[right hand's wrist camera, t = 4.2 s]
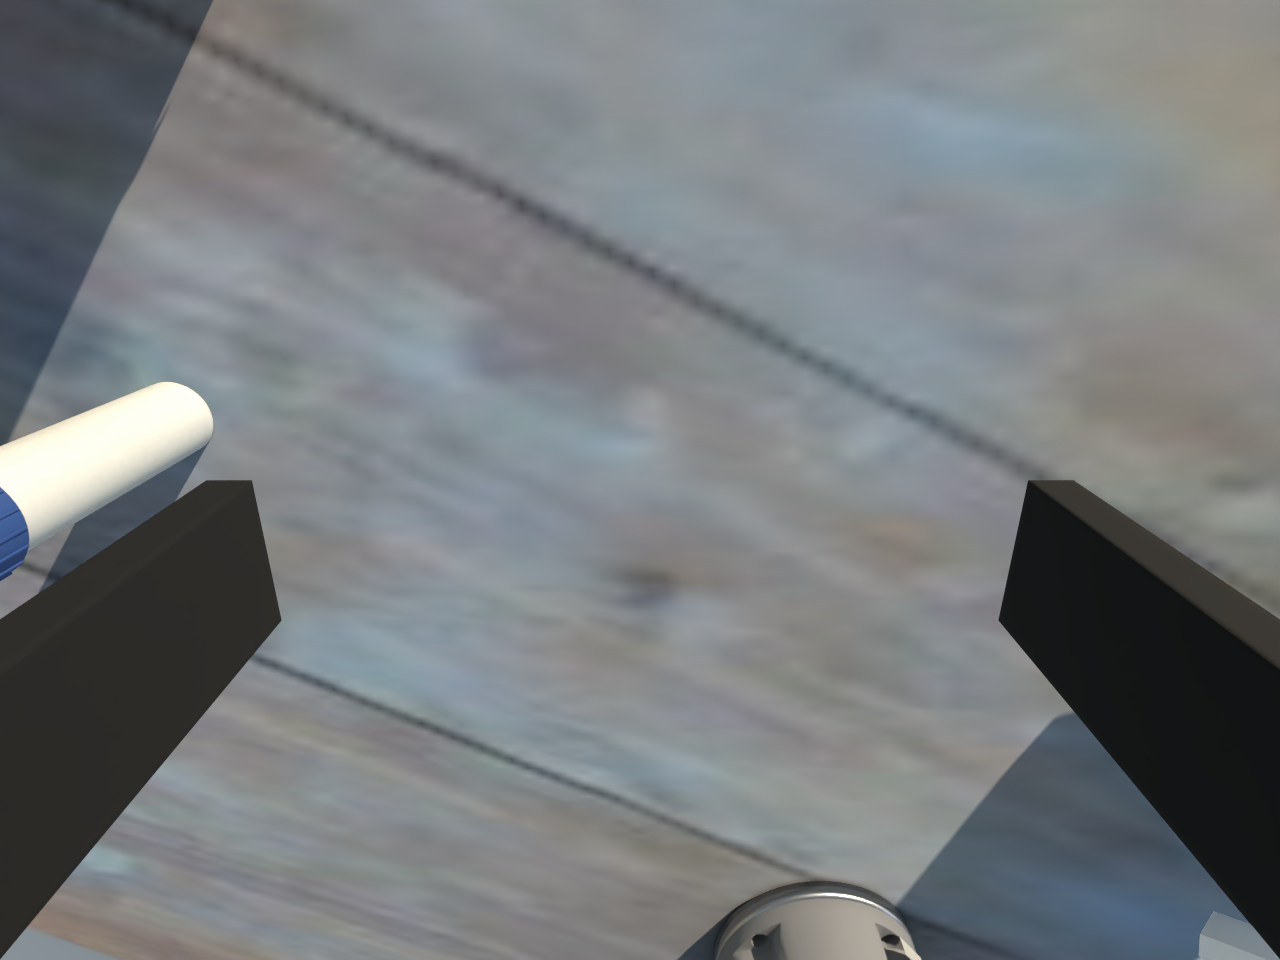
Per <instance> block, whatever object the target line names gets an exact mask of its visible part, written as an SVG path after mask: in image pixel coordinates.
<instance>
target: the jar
mask: <svg viewBox="0 0 1280 960" xmlns="http://www.w3.org/2000/svg"><path fill="white" fill-rule="evenodd" d="M212 432H213V418H212V414H211V412H210V410H209V408H208V406H207V404H206V403H205V401H204V400H203V399H202V398H201V397H200V396H199V395H198V394H197V393H195V392H194V391H193V390H191V389H189V388H188V387H186V386H183V385H181V384H177V383H172V382H161V383H157V384H153V385H151V386H148V387H146V388H144V389H141V390H139V391H136V392H134V393H131V394H129V395H126V396H124V397H121V398H119V399H116V400H114V401H111V402H109V403H106V404H104V405H101V406H99V407H96V408H94V409H91V410H89V411H86V412H84V413H81V414H79V415H77V416H74V417H72V418H69V419H67V420H64V421H62V422H59V423H57V424H54V425H52V426H49V427H47V428H44V429H42V430H39V431H37V432H34V433H32V434H29V435H27V436H24V437H22V438H19V439H17V440H14V441H12V442H10V443H7V444H5V445H2V446H0V487H1V488H2V489H3V490H4V491H5V492H6V493H7V494H8V495H9V496H10V497H11V498H12V499H13V500H14V501H15V503H16V504H17V506H18V507H19V509H20V510H21V512H22V514H23V516H24V518H25V521H26V523H27V527H28V531H29V548H28V551H29V550H31V549H32V548H34V547H36V546H37V545H39V544H41V543H42V542H44V541H46V540H48V539H49V538H51V537H53V536H54V535H56V534H58V533H59V532H61V531H63V530H64V529H66V528H68V527H69V526H71V525H73V524H75V523H76V522H78V521H80V520H81V519H83V518H85V517H86V516H88V515H90V514H91V513H93V512H95V511H96V510H98V509H100V508H102V507H103V506H105V505H107V504H108V503H110V502H112V501H113V500H115V499H117V498H118V497H120V496H122V495H123V494H125V493H127V492H129V491H130V490H132V489H134V488H135V487H137V486H139V485H140V484H142V483H144V482H145V481H147V480H149V479H150V478H152V477H154V476H156V475H157V474H159V473H161V472H162V471H164V470H166V469H167V468H169V467H171V466H172V465H174V464H176V463H177V462H179V461H181V460H183V459H184V458H186V457H188V456H189V455H191V454H193V453H194V452H196V451H198V450H199V449H201V448H202V447H204V446H205V445H206V444H207V443H208V441H209V440H210V438H211V435H212Z"/></svg>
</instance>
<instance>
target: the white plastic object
mask: <svg viewBox="0 0 1280 960" xmlns="http://www.w3.org/2000/svg"><path fill="white" fill-rule="evenodd" d="M1199 957H1202V958H1204V959H1207V960H1280V959H1279V958H1278V956H1277V955H1276V954H1275V953H1274V952H1273V950H1272V949H1271V948H1270V947H1269V946H1268V944H1267V943H1266V942H1265V941H1264V940H1263V938H1262V937H1261V936H1260V935H1259V933H1258V932H1257V931H1256V930H1255V929H1254V927H1253V926H1252V925H1251V924H1249V923H1246V922H1243V921H1240V920H1237V919H1235V918H1232V917H1229V916H1226V915H1223V914H1220V913H1218V912H1215V911H1213V913H1212V914H1211V916H1210V918H1209V919H1208V921H1207V923H1206V924H1205V926H1204V928H1203V929H1202V931H1201V933H1200V940H1199Z"/></svg>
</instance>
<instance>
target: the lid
mask: <svg viewBox="0 0 1280 960" xmlns="http://www.w3.org/2000/svg"><path fill="white" fill-rule="evenodd" d="M28 548H29V531H28V527H27V523H26V521H25V518H24V516H23V514H22V512H21V510H20V509H19V507H18V506H17V504H16V503H15V501H14V500H13V499H12V498H11V497H10V496H9V495H8V494H7V493H6V492H5V491H4V490H3V489H2V488H1V487H0V581H1V580H3V579H5V578H6V577H8V576H9V575H11V574H12V571H13V570H15V569H16V568H17V567H18V566H19V565H21V564H23V563H24V561H23V560H24V558H25V556H26V554H27V551H28Z"/></svg>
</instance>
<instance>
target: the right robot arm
mask: <svg viewBox="0 0 1280 960" xmlns="http://www.w3.org/2000/svg"><path fill="white" fill-rule="evenodd" d="M280 621H281V616H280V611H279V607H278V602H277V597H276V592H275V588H274V583H273V578H272V574H271V569H270V564H269V559H268V555H267V550H266V545H265V541H264V536H263V531H262V526H261V522H260V517H259V512H258V508H257V503H256V498H255V493H254V489H253V484H252V480H206V481H205V482H203V483H202V484H200V485H199V486H198V487H196V488H195V489H193V490H192V491H190V492H189V493H187V494H186V495H184V496H183V497H181V498H180V499H178V500H177V501H175V502H174V503H172V504H171V505H169V506H168V507H166V508H165V509H163V510H162V511H160V512H159V513H157V514H156V515H154V516H153V517H152V518H150V519H149V520H147V521H146V522H144V523H143V524H141V525H140V526H138V527H137V528H135V529H134V530H132V531H131V532H129V533H128V534H126V535H125V536H123V537H122V538H120V539H119V540H117V541H116V542H114V543H113V544H111V545H110V546H108V547H107V548H105V549H104V550H103V551H101V552H100V553H98V554H97V555H95V556H94V557H92V558H91V559H89V560H88V561H86V562H85V563H83V564H82V565H80V566H79V567H77V568H76V569H74V570H73V571H71V572H70V573H68V574H67V575H65V576H64V577H62V578H61V579H59V580H58V581H56V582H55V583H54V584H52V585H51V586H49V587H48V588H46V589H45V590H43V591H42V592H40V593H39V594H37V595H36V596H34V597H33V598H31V599H30V600H28V601H27V602H25V603H24V604H22V605H21V606H19V607H18V608H16V609H15V610H13V611H12V612H10V613H9V614H8V615H6V616H5V617H3V618H2V619H0V959H1V958H2V956H3V955H4V954H5V953H6V952H7V950H8V949H9V948H10V947H11V946H12V944H13V943H14V942H15V941H16V940H17V938H18V937H19V936H20V935H21V933H22V932H23V931H24V930H25V929H26V927H27V926H28V925H29V924H30V923H31V921H32V920H33V919H34V918H35V917H36V915H37V914H38V913H39V912H40V911H41V909H42V908H43V907H44V906H45V905H46V903H47V902H48V901H49V900H50V899H51V897H52V896H53V895H54V894H55V893H56V891H57V890H58V889H59V888H60V887H61V885H62V884H63V883H64V882H65V880H66V879H67V878H68V877H69V876H70V874H71V873H72V872H73V871H74V870H75V868H76V867H77V866H78V865H79V864H80V862H81V861H82V860H83V859H84V858H85V856H86V855H87V854H88V853H89V852H90V850H91V849H92V848H93V847H94V846H95V844H96V843H97V842H98V841H99V840H100V838H101V837H102V836H103V835H104V833H105V832H106V831H107V830H108V829H109V827H110V826H111V825H112V824H113V823H114V821H115V820H116V819H117V818H118V817H119V815H120V814H121V813H122V812H123V811H124V809H125V808H126V807H127V806H128V805H129V803H130V802H131V801H132V800H133V799H134V797H135V796H136V795H137V794H138V793H139V791H140V790H141V789H142V788H143V787H144V785H145V784H146V783H147V782H148V780H149V779H150V778H151V777H152V776H153V774H154V773H155V772H156V771H157V770H158V768H159V767H160V766H161V765H162V764H163V762H164V761H165V760H166V759H167V758H168V756H169V755H170V754H171V753H172V752H173V750H174V749H175V748H176V747H177V746H178V744H179V743H180V742H181V741H182V740H183V738H184V737H185V736H186V735H187V734H188V732H189V731H190V730H191V729H192V727H193V726H194V725H195V724H196V723H197V721H198V720H199V719H200V718H201V717H202V715H203V714H204V713H205V712H206V711H207V709H208V708H209V707H210V706H211V705H212V703H213V702H214V701H215V700H216V699H217V697H218V696H219V695H220V694H221V693H222V691H223V690H224V689H225V688H226V687H227V685H228V684H229V683H230V682H231V681H232V679H233V678H234V677H235V676H236V674H237V673H238V672H239V671H240V670H241V668H242V667H243V666H244V665H245V664H246V662H247V661H248V660H249V659H250V658H251V656H252V655H253V654H254V653H255V652H256V650H257V649H258V648H259V647H260V646H261V644H262V643H263V642H264V641H265V640H266V638H267V637H268V636H269V635H270V634H271V632H272V631H273V630H274V629H275V628H276V626H277V625H278V624H279V623H280ZM999 621H1000V623H1001V624H1002V625H1003V626H1004V628H1005V629H1006V630H1007V631H1008V632H1009V634H1010V635H1011V636H1012V637H1013V638H1014V640H1015V641H1016V642H1017V643H1018V644H1019V646H1020V647H1021V648H1022V649H1023V650H1024V652H1025V653H1026V654H1027V655H1028V656H1029V658H1030V659H1031V660H1032V661H1033V662H1034V664H1035V665H1036V666H1037V667H1038V668H1039V670H1040V671H1041V672H1042V673H1043V674H1044V676H1045V677H1046V678H1047V679H1048V681H1049V682H1050V683H1051V684H1052V685H1053V687H1054V688H1055V689H1056V690H1057V691H1058V693H1059V694H1060V695H1061V696H1062V697H1063V699H1064V700H1065V701H1066V702H1067V703H1068V705H1069V706H1070V707H1071V708H1072V709H1073V711H1074V712H1075V713H1076V714H1077V715H1078V717H1079V718H1080V719H1081V720H1082V721H1083V723H1084V724H1085V725H1086V726H1087V727H1088V729H1089V730H1090V731H1091V732H1092V734H1093V735H1094V736H1095V737H1096V738H1097V740H1098V741H1099V742H1100V743H1101V744H1102V746H1103V747H1104V748H1105V749H1106V750H1107V752H1108V753H1109V754H1110V755H1111V756H1112V758H1113V759H1114V760H1115V761H1116V762H1117V764H1118V765H1119V766H1120V767H1121V768H1122V770H1123V771H1124V772H1125V773H1126V774H1127V776H1128V777H1129V778H1130V779H1131V780H1132V782H1133V783H1134V784H1135V785H1136V787H1137V788H1138V789H1139V790H1140V791H1141V793H1142V794H1143V795H1144V796H1145V797H1146V799H1147V800H1148V801H1149V802H1150V803H1151V805H1152V806H1153V807H1154V808H1155V809H1156V811H1157V812H1158V813H1159V814H1160V815H1161V817H1162V818H1163V819H1164V820H1165V821H1166V823H1167V824H1168V825H1169V826H1170V827H1171V829H1172V830H1173V831H1174V832H1175V833H1176V835H1177V836H1178V837H1179V838H1180V840H1181V841H1182V842H1183V843H1184V844H1185V846H1186V847H1187V848H1188V849H1189V850H1190V852H1191V853H1192V854H1193V855H1194V856H1195V858H1196V859H1197V860H1198V861H1199V862H1200V864H1201V865H1202V866H1203V867H1204V868H1205V870H1206V871H1207V872H1208V873H1209V874H1210V876H1211V877H1212V878H1213V879H1214V880H1215V882H1216V883H1217V884H1218V885H1219V887H1220V888H1221V889H1222V890H1223V891H1224V893H1225V894H1226V895H1227V896H1228V897H1229V899H1230V900H1231V901H1232V902H1233V903H1234V905H1235V906H1236V907H1237V908H1238V909H1239V911H1240V912H1241V913H1242V914H1243V915H1244V917H1245V918H1246V919H1247V920H1248V921H1249V923H1250V924H1251V925H1252V926H1253V927H1254V929H1255V930H1256V931H1257V932H1258V933H1259V935H1260V936H1261V937H1262V938H1263V940H1264V941H1265V942H1266V943H1267V944H1268V946H1269V947H1270V948H1271V949H1272V950H1273V952H1274V953H1275V954H1276V955H1277V956H1278V958H1279V959H1280V619H1278V618H1277V617H1275V616H1274V615H1272V614H1271V613H1270V612H1268V611H1267V610H1265V609H1264V608H1262V607H1261V606H1259V605H1258V604H1256V603H1255V602H1253V601H1252V600H1250V599H1249V598H1247V597H1246V596H1244V595H1243V594H1241V593H1240V592H1238V591H1237V590H1235V589H1234V588H1232V587H1231V586H1229V585H1228V584H1226V583H1225V582H1224V581H1222V580H1221V579H1219V578H1218V577H1216V576H1215V575H1213V574H1212V573H1210V572H1209V571H1207V570H1206V569H1204V568H1203V567H1201V566H1200V565H1198V564H1197V563H1195V562H1194V561H1192V560H1191V559H1189V558H1188V557H1186V556H1185V555H1183V554H1182V553H1180V552H1179V551H1177V550H1176V549H1175V548H1173V547H1172V546H1170V545H1169V544H1167V543H1166V542H1164V541H1163V540H1161V539H1160V538H1158V537H1157V536H1155V535H1154V534H1152V533H1151V532H1149V531H1148V530H1146V529H1145V528H1143V527H1142V526H1140V525H1139V524H1137V523H1136V522H1134V521H1133V520H1131V519H1130V518H1128V517H1127V516H1126V515H1124V514H1123V513H1121V512H1120V511H1118V510H1117V509H1115V508H1114V507H1112V506H1111V505H1109V504H1108V503H1106V502H1105V501H1103V500H1102V499H1100V498H1099V497H1097V496H1096V495H1094V494H1093V493H1091V492H1090V491H1088V490H1087V489H1085V488H1084V487H1082V486H1081V485H1080V484H1078V483H1077V482H1075V481H1074V480H1028V484H1027V489H1026V493H1025V498H1024V503H1023V508H1022V512H1021V517H1020V522H1019V526H1018V531H1017V536H1016V541H1015V545H1014V550H1013V555H1012V559H1011V564H1010V569H1009V574H1008V578H1007V583H1006V588H1005V592H1004V597H1003V602H1002V606H1001V611H1000V616H999ZM714 960H921V958H920V956H919V955H918V954H917V953H916V948H915V945H914V942H913V939H912V936H911V934H910V931H909V928H908V925H907V923H906V921H905V919H904V918H903V916H902V915H901V913H900V912H899V911H898V910H897V909H896V908H895V907H894V906H893V905H892V904H891V903H890V902H888V901H887V900H886V899H884V898H883V897H881V896H879V895H877V894H876V893H873V892H871V891H869V890H867V889H864V888H861V887H858V886H854V885H850V884H845V883H839V882H827V881H814V882H803V883H796V884H791V885H787V886H783V887H779V888H776V889H773V890H770V891H768V892H766V893H763V894H761V895H759V896H757V897H755V898H753V899H752V900H750V901H748V902H747V903H745V904H744V905H743V906H741V907H740V908H739V909H738V910H736V911H735V912H734V913H733V914H732V915H731V916H730V917H729V919H728V920H727V921H726V922H725V924H724V925H723V926H722V928H721V930H720V932H719V934H718V936H717V939H716V942H715V946H714Z"/></svg>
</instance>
